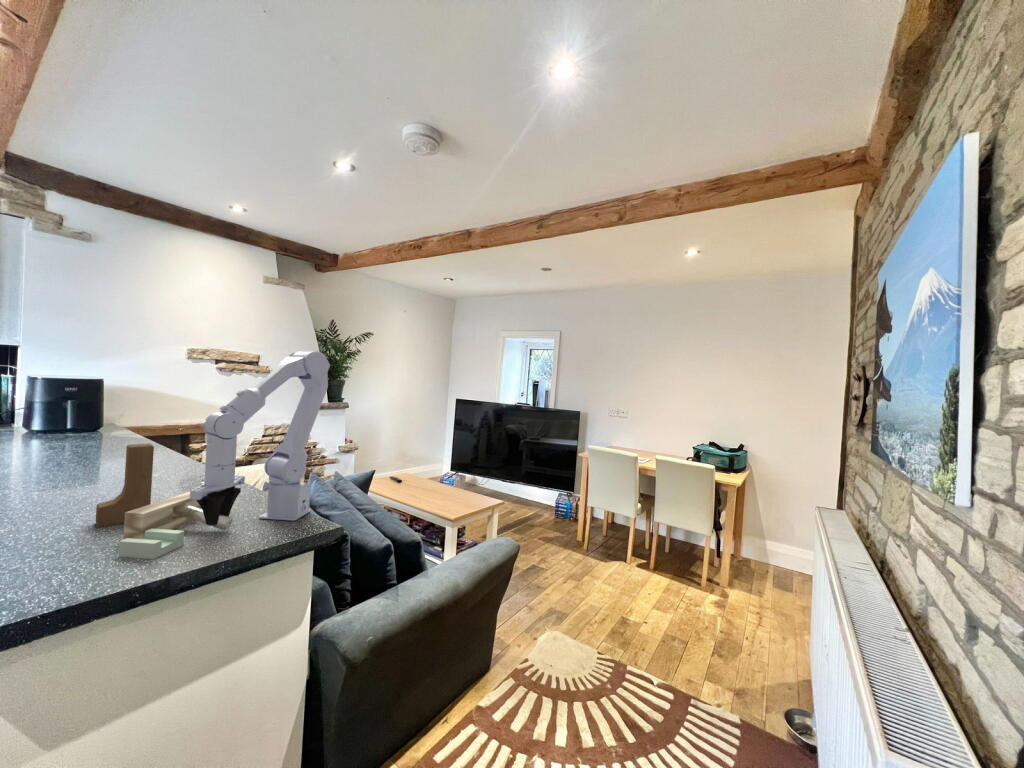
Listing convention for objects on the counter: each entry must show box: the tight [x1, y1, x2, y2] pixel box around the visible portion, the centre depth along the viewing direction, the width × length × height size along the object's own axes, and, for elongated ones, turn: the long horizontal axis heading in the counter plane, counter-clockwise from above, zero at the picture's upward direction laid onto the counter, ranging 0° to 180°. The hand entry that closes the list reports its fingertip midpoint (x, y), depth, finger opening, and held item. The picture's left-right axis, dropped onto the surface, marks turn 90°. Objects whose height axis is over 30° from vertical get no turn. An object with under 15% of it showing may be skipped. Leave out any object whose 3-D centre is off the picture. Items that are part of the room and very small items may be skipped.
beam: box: [122, 491, 201, 540], centre depth 94 cm, size 4×18×6 cm, turn 179°
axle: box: [182, 506, 234, 531], centre depth 94 cm, size 10×3×3 cm, turn 89°
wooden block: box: [95, 443, 155, 528], centre depth 97 cm, size 9×4×18 cm, turn 139°
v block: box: [117, 529, 185, 560], centre depth 82 cm, size 7×7×3 cm
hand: (217, 522), depth 94 cm, fingers closed on axle, 3 cm apart
